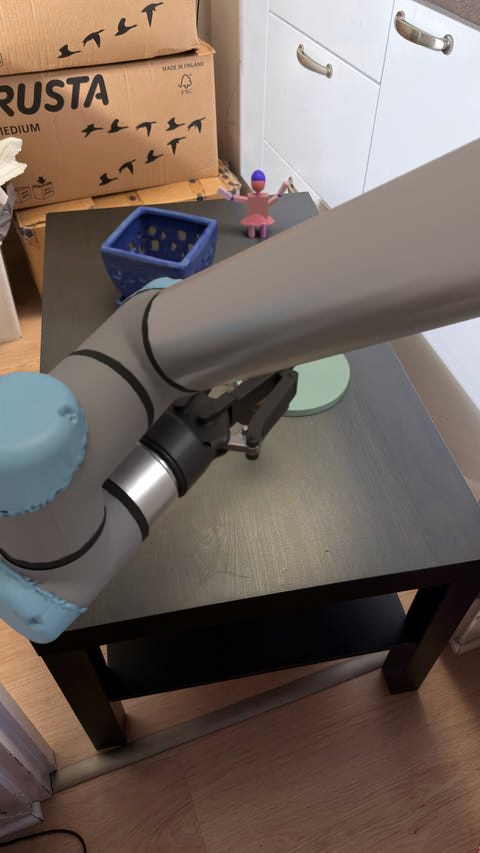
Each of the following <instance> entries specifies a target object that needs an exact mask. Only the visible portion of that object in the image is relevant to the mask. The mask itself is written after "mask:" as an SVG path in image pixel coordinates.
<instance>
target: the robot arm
mask: <svg viewBox="0 0 480 853" xmlns="http://www.w3.org/2000/svg"><path fill="white" fill-rule="evenodd" d="M478 318H480V137H478V138H475V139H474V140H472V141H469V142H468V143H465V144H463V145H460V146H459V147H457V148H454V149H453V150H450V151H449V152H446V153H445V154H442V155H440V156H438V157H436V158H434V159H431V160H429V161H427V162H425V163H424V164H422V165H419V166H417V167H415V168H413V169H411V170H409V171H407V172H405V173H403V174H401V175H398V176H396V177H393V178H392V179H389V180H388V181H386V182H384V183H381V184H380V185H378V186H376V187H373V188H371V189H369V190H367V191H365V192H363V193H361V194H359V195H357V196H355V197H353V198H350V199H349V200H346V201H344V202H342V203H340V204H337V205H336V206H334V207H332V208H330V209H327V210H325V211H323V212H321V213H319V214H317V215H315V216H313V217H310V218H309V219H307V220H304V221H303V222H300V223H298V224H296V225H294V226H292V227H290V228H288V229H285V230H284V231H282V232H279V233H278V234H275V235H274V236H271V237H269V238H267V239H264V240H263V241H261V242H259V243H257V244H254V245H253V246H251V247H249V248H245V249H244V250H242V251H240V252H238V253H236V254H233V255H232V256H230V257H227V258H225V259H223V260H221V261H219V262H217V263H215V264H212V265H211V267H209V268H207V269H204V270H202V271H200V272H198V273H196V274H194V275H192V276H190V277H188V278H186V279H184V280H182V279H172V278H168V277H163V278H158V279H155V280H153V281H151V282H150V283H148V284H147V285H146V286H144V287H143V288H142V289H141V290H139V291H137V292H135V293H134V294H133V295H131V296H130V297H128V298H127V299H126V300H124V301H123V302H122V303H121V305H120V307H119V306H118V308H117V309H116V311H115V312H113V313H112V314H111V316H109V317H108V318H107V319H106V320H105V321H104V322H103V323H102V324H101V325H100V326H99V327H98V328H97V329H96V330H95V331H94V332H93V333H91V334H90V336H89V337H87V339H85V340H84V341H83V342H82V343H81V344H80V345H79V346H78V347H77V348H76V349H74V351H72V352H70V354H69V355H67V357H65V358H63V359H62V360H61V361H60V362H58V364H57V365H55V367H54V368H52V369H51V370H50V371H49V372H48V373H42V372H36V371H17V372H16V371H15V372H9V373H5V374H2V375H0V619H1V620H2V621H3V622H4V623H5V624H6V625H8V626H9V627H10V628H11V629H13V631H15V632H16V633H18V634H19V635H20V636H22V637H23V638H26V639H27V640H29V641H31V642H33V643H36V644H42V645H43V644H48V643H49V644H50V643H52V642H53V641H56V639H58V638H59V637H60V636H61V634H63V632H64V631H65V630H66V629H67V628H68V627H69V626H70V625H71V624H72V623H73V622H74V621H75V620H76V619H77V618H78V617H79V616H80V615H81V614H83V613H85V612H86V611H88V609H89V606H90V605H91V604H92V602H93V601H94V600H95V599H96V598H97V597H98V595H99V594H100V593H101V592H102V591H103V589H104V588H105V587H106V586H107V585H108V583H109V582H110V581H111V580H112V579H113V578H114V577H115V576H116V574H117V573H118V572H119V571H120V569H121V568H122V567H123V566H124V565H125V564H126V562H127V561H128V560H129V559H130V558H131V557H132V556H133V554H134V553H135V552H136V551H137V550H138V548H139V547H140V546H141V545H142V544H143V542H144V541H145V540H147V538H148V537H149V536H150V535H151V534H152V533H153V531H155V529H156V528H157V527H158V526H159V524H160V523H161V522H162V521H163V520H164V518H166V516H168V514H170V512H171V511H172V510H173V509H174V508H175V506H176V505H177V504H178V501H179V499H180V498H181V499H182V498H183V497H184V496H185V495H187V493H188V492H189V491H190V490H191V488H192V487H193V486H194V485H195V484H197V482H198V481H199V479H200V478H201V477H202V476H203V475H204V474H205V472H206V471H207V470H208V468H209V467H210V466H211V464H212V462H213V461H215V460H216V459H219V458H221V457H223V456H225V455H226V454H227V453H228V452H234V453H235V452H237V453H243V454H245V455H244V456H245V459H246V460H248V461H251V462H252V461H253V462H254V461H257V460H258V459H259V457H260V454H261V448H262V442H263V441H264V439H265V438H266V437H267V435H268V434H269V433H270V432H271V430H272V429H273V428H274V426H275V425H276V424H277V423H278V421H279V420H280V419H281V418H280V416H281V415H282V413H283V412H284V411H285V409H286V408H287V407H288V405H289V404H290V402H291V401H292V400H293V398H294V397H295V396H296V393H297V385H298V376H299V374H298V372H297V371H295V370H293V369H294V368H295V366H297V365H301V364H305V363H309V362H313V361H316V360H320V359H324V358H328V357H331V356H335V355H339V354H343V355H344V354H347V353H350V352H353V351H357V350H361V349H365V348H369V347H372V346H377V345H380V344H384V343H388V342H391V341H395V340H399V339H403V338H406V337H410V336H414V335H417V334H422V333H425V332H428V331H429V332H430V331H432V330H433V331H434V330H437V329H440V328H444V327H448V326H452V325H456V324H459V323H462V322H466V321H470V320H474V319H478ZM248 378H249V379H248ZM245 379H248V380H247V381H245V382H244V383H243V384H241V385H240V386H238V387H237V388H236V387H235V388H234V389H233V390H231V391H230V392H229V391H225V392H223V393H222V394H220V395H219V396H218V397H212V396H209V394H210V393H211V392H212V391H213V389H214V388H218V387H222V386H225V385H230V384H233V383H234V382H237V381H241V380H245ZM267 396H268V397H267ZM265 397H267V398H266V399H265V401H264V402H263V403H262V405H261V406H260V407H259V409H258V410H257V411H256V412H255V414H254V415H253V417H252V418H251V420H250V422H249V425H248V426H247V425H242V427H241V428H240V429H239V430H238V432H237V433H235V434H231V428H232V427H234V426H235V425H236V424H237V423H238V422H237V421H238V419H239V417H241V416H242V415H243V414H245V413H246V412H247V411H249V410H250V409H251V408H252V407H254V406H255V405H256V404H258V403H259V402H260V401H262V400H263V399H264V398H265ZM279 418H280V419H279ZM278 419H279V420H278ZM277 420H278V421H277ZM276 422H277V423H276ZM275 423H276V424H275ZM274 424H275V425H274Z"/></svg>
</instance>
